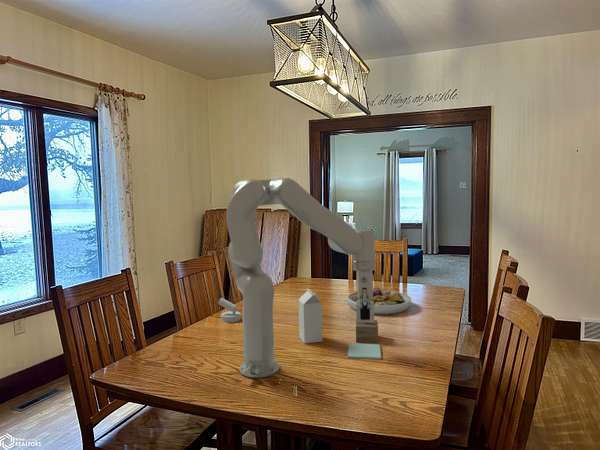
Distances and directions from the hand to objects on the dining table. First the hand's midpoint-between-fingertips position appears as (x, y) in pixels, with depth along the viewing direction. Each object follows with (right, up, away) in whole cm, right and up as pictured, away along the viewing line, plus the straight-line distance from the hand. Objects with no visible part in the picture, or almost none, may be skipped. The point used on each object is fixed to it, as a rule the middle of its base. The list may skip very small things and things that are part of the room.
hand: (365, 316), depth 146 cm
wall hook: (-54, -11, +41) cm, 69 cm away
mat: (0, -13, +1) cm, 13 cm away
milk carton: (-18, -12, +14) cm, 26 cm away
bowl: (+15, -8, +56) cm, 59 cm away
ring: (0, -1, 0) cm, 1 cm away
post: (+3, -11, +14) cm, 18 cm away
